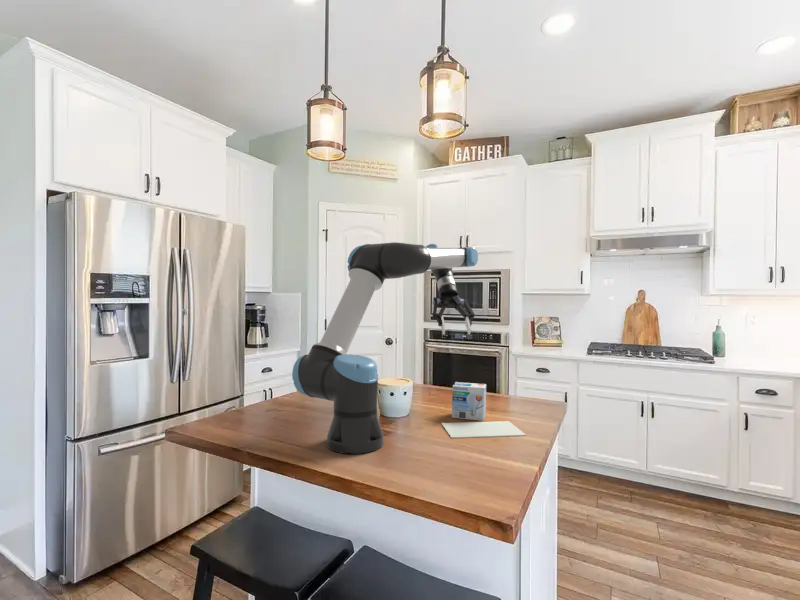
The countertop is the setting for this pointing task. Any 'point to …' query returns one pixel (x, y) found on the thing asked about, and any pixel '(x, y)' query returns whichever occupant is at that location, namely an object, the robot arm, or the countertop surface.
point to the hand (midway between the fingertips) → (457, 331)
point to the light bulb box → (469, 401)
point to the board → (482, 429)
